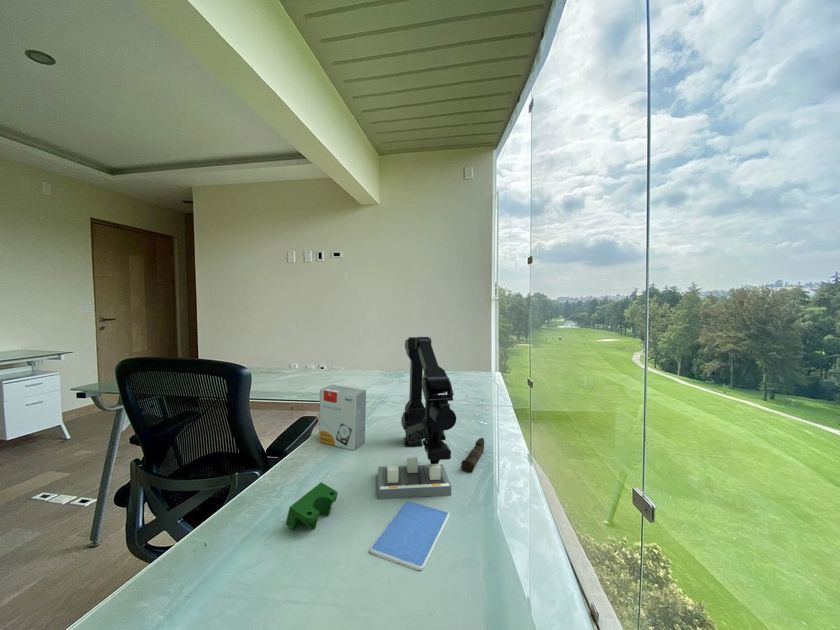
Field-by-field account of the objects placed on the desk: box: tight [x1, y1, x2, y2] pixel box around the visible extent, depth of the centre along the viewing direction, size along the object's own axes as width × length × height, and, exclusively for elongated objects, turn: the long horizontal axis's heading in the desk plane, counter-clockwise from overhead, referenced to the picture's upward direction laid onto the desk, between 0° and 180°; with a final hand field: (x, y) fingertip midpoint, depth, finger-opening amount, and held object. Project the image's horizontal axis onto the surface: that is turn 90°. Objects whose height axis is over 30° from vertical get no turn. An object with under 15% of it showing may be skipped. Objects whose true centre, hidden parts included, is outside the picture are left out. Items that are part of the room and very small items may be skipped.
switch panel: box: [377, 463, 452, 500], centre depth 96 cm, size 12×20×3 cm, turn 97°
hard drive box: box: [318, 384, 367, 451], centre depth 122 cm, size 16×8×20 cm, turn 68°
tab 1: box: [387, 465, 399, 483], centre depth 93 cm, size 2×3×4 cm
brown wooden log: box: [460, 437, 485, 473], centre depth 112 cm, size 19×4×5 cm, turn 152°
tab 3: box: [428, 463, 441, 480], centre depth 95 cm, size 2×3×4 cm
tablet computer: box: [369, 500, 450, 571], centre depth 77 cm, size 19×13×1 cm, turn 158°
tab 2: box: [406, 456, 419, 473], centre depth 99 cm, size 2×3×4 cm
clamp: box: [285, 481, 338, 531], centre depth 81 cm, size 12×6×9 cm, turn 151°
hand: (433, 468), depth 98 cm, fingers closed
